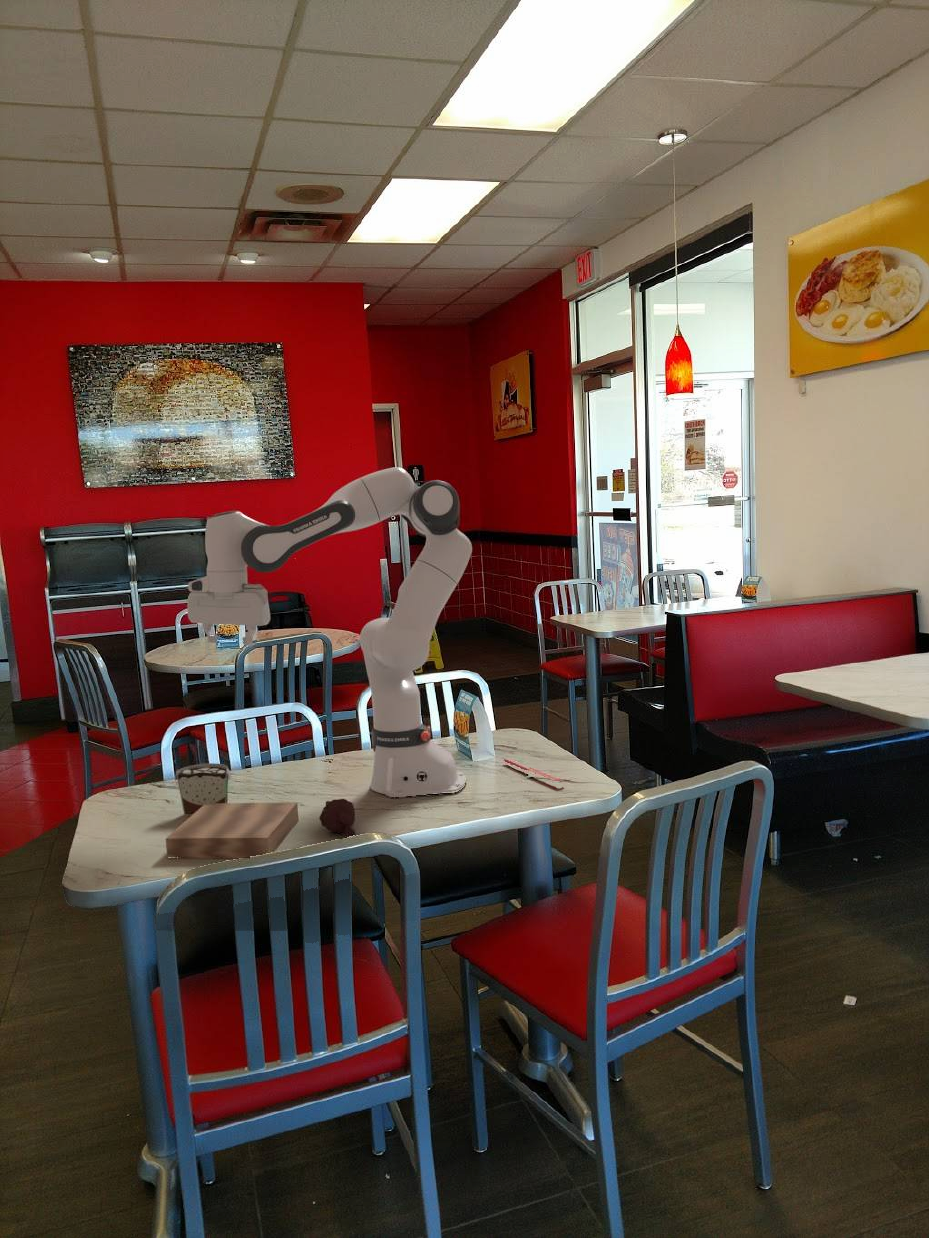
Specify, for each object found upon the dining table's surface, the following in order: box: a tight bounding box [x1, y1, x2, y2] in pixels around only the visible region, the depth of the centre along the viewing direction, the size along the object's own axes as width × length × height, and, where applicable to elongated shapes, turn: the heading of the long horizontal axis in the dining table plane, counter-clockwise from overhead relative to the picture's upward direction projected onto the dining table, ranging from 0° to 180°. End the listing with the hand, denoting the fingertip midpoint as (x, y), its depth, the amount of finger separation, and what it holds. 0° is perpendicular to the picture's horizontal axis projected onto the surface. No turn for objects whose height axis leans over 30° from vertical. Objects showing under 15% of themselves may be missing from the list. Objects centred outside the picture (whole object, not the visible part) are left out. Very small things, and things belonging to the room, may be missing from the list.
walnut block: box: [165, 802, 299, 859], centre depth 181 cm, size 20×20×4 cm
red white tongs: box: [503, 757, 563, 783], centre depth 213 cm, size 24×2×5 cm
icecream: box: [318, 798, 357, 838], centre depth 182 cm, size 7×7×15 cm
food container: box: [174, 762, 232, 817], centre depth 198 cm, size 12×6×10 cm, turn 84°
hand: (230, 643), depth 205 cm, fingers open, 8 cm apart
